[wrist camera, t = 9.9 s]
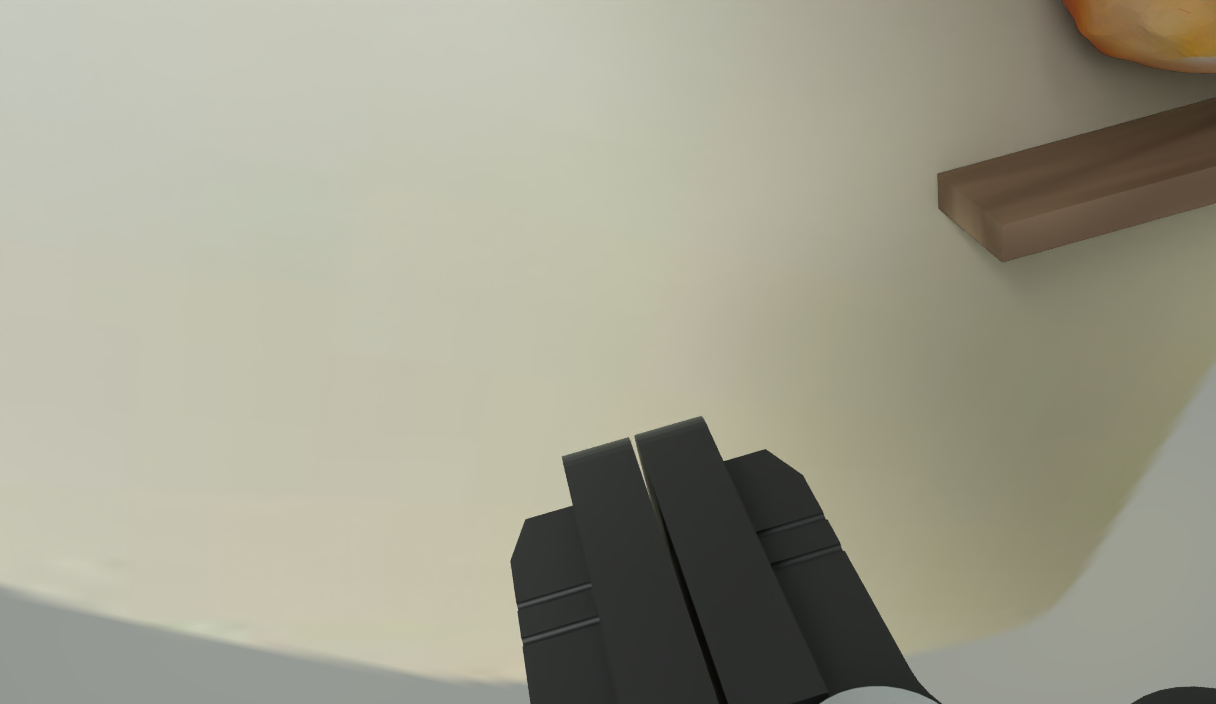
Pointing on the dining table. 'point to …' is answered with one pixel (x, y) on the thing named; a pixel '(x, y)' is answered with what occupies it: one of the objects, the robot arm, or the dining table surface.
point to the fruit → (1151, 31)
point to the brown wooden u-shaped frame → (1086, 183)
